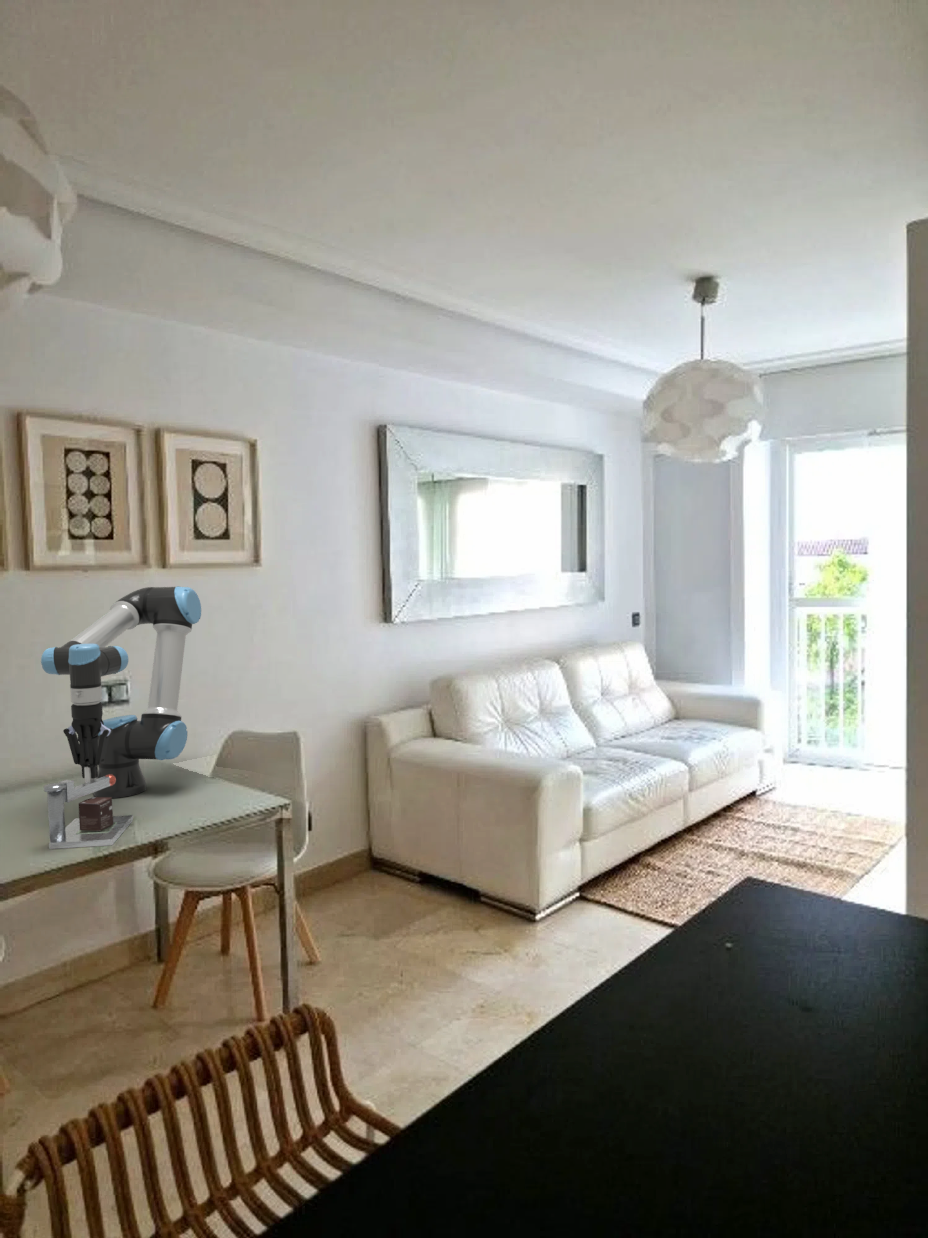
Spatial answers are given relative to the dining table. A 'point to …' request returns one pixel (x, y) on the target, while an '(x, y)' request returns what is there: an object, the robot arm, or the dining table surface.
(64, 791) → the lever
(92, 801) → the box
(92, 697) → the robot arm
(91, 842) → the press
